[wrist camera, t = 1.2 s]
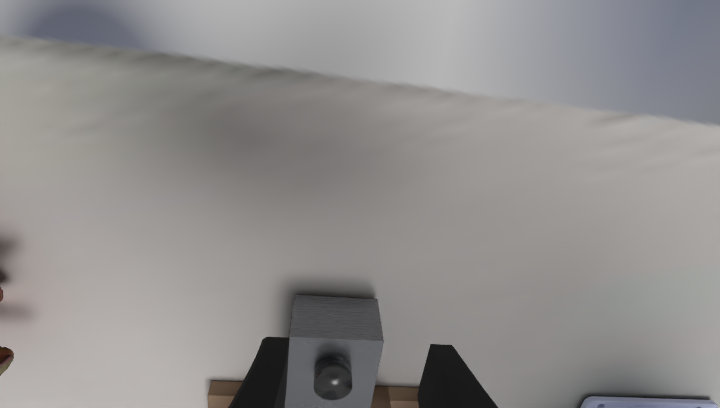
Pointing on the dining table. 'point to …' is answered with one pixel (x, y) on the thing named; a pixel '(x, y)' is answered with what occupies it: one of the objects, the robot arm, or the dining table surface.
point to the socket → (387, 403)
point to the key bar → (333, 352)
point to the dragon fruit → (5, 351)
